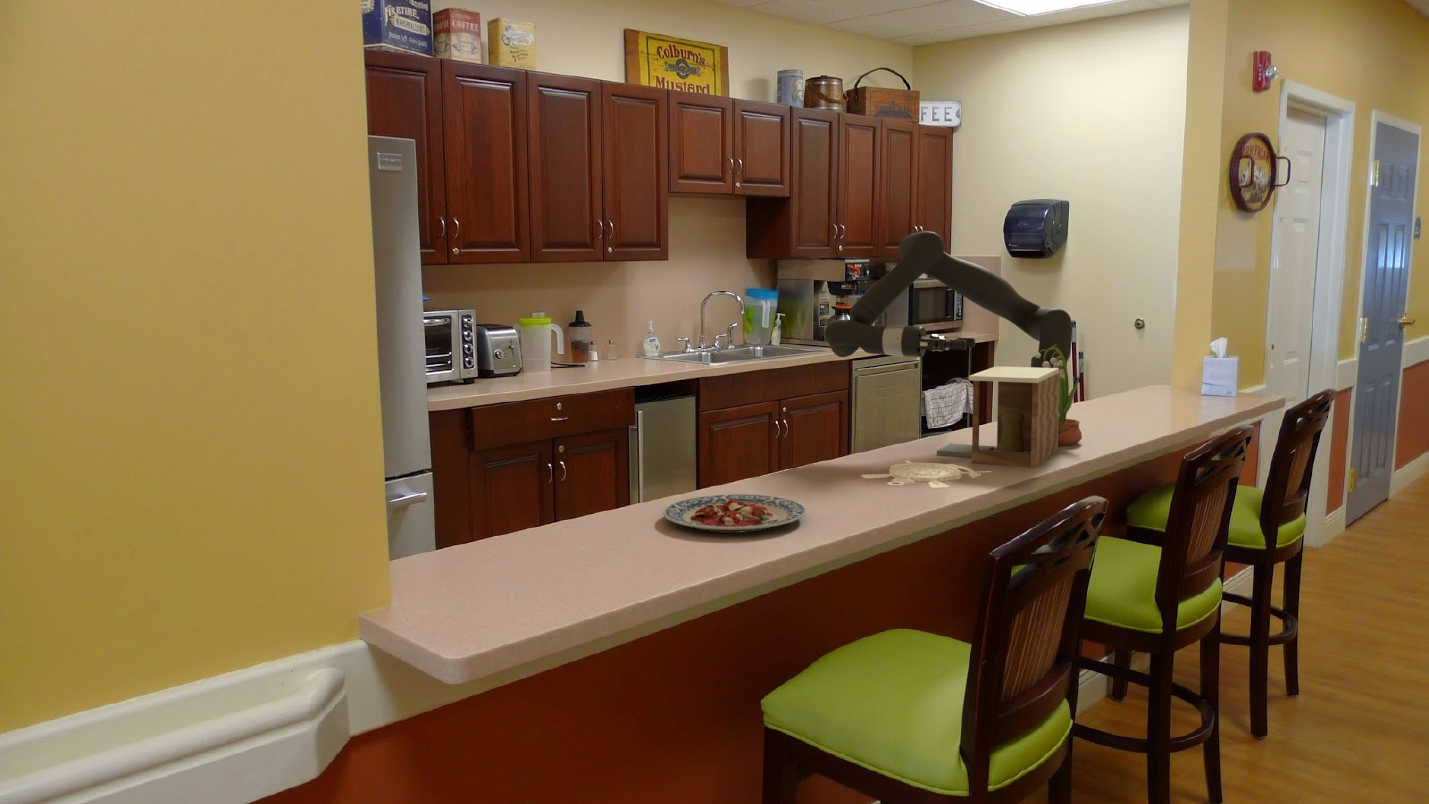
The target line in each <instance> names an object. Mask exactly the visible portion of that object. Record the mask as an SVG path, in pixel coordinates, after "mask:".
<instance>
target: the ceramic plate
mask: <svg viewBox="0 0 1429 804" xmlns="http://www.w3.org/2000/svg"><path fill="white" fill-rule="evenodd" d="M806 509H807V508H806V507H805V506H804V505H802V504H800V503H799V502H796V501H794V500H792V499H789V498H788V499H787V498H782V497H777V496H772V495H764V494H743V493H740V494H738V493H737V494H736V493H732V494H731V493H729V494H713V495H705V496H704V495H703V496H696V497H692V498H686V499H683V500H679V501H677V502H673V503H672V504H670V505H667V506H666V507H665V508H663V511H662V515H663V516H664V518H665V519H666V520H668V521H670V522H671V523H675V524H678V525H680V526H685V527H689V528H694V527H695V528H694V529H698V528H700V529H699V530H701V529H705V530H704V531H706V530H712V531H711V532H713V531H723V532H722V533H731V532H736V533H741V532H740V531H751V532H753V531H752V530H759V531H761V530H760V529H764V530H767V529H766V528H768V529H771V528H770V527H772V528H774V527H778V526H782V525H783V526H784V525H786V524H790V523H793V522H795V521H798V520H799V519H801V518H803V516H805V514H806Z"/></svg>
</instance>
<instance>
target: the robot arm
mask: <svg viewBox="0 0 1429 804" xmlns="http://www.w3.org/2000/svg"><path fill="white" fill-rule="evenodd" d="M944 244H945V243H944V241H943V239H942V237H941V236H940V235H939V234H937V232H934V231H929V230H924V231H923V230H922V231H918V232H913V233H911V234H908V235H906V236H905V237H904V238H902V240H901V241H900V243H899V245H898V255H899V258H900V261H899V262H898V263H897V264H896V265H895V266H894V267H893V268H892V269H891V270H890V271H889V272H887V273H886V274H885V275H884V276H882V277H881V278H880V279H879V280H877V281H876V282H875V283H873V284H872V285H871V286H870V287H869V288H868V289H867V290H866V291H865V292H864V293H863V294H862V295H861V296H860V297H859V298H858V299H857V300H856V302H855V303H853V305H852V306H851V308H850V310H849V319H835V320H833V321H831V322H829V323H828V324H827V325H826V327H824V331H823V332H824V333H823V334H824V339H825V340H826V342H827V343H828V346H829V347H830V349H831V351H832V352H833V354H834V355H835V356H836V357H839V358H847V357H850V356H852V355H853V354H854V353H855V352H857V351H858V350H859V349H862V351H864V352H865V353H867V354H871V355H888V356H893V357H909V358H910V357H913V358H922V357H924V355H925V354H926V351H927V350H928V351H929V352H935V351H937V352H943V351H944V350H945V351H949V350H959V351H960V350H961V351H963V350H966V348H974V347H975V346H976V339H975V338H974V337H961V336H958V335H951V334H940V333H932V334H929V336H927V330H926V328H925V327H924V326H922V325H921V326H919V325H918V326H917V325H890V326H887V325H884V326H883V325H874V324H875V323H876V321H878V319H879V318H880V317H881V316H882V315H883V314H884V313H885V312H886V310H887V309H888V308H889V307H890V306H891V305H892V304H893V303H894V302H895V301H896V300H897V299H898V298H899V296H901V294H902V293H904V291H906V289H908V288H909V287H910V286H911V285H912V284H913V283H914V282H915V281H916V280H918V279H919V278H920V277H921V276H922V275H923V274H925V275H927V276H929V277H931V278H932V279H933V278H934V279H936V280H937V281H939V282H941V283H942V284H944V285H945V286H947V288H950V289H951V290H953V291H954V292H955V293H957V294H960V295H961V296H962V297H964V298H966V299H967V300H969V301H971V302H972V303H974V304H975V305H977V306H979V307H980V308H982V309H985V310H986V311H989V312H991V313H992V314H994V315H996V316H998V317H1001V318H1003V319H1004V320H1007V321H1008V322H1010V323H1012V324H1014V326H1016V327H1017V328H1018V329H1020V330H1021V331H1023V332H1024V333H1026V334H1027V335H1028V336H1029V337H1031V338H1032V339H1033V340H1036V341H1037V342H1039V344H1038V350H1037V353H1040V354H1041V356H1040V359H1039V358H1036V357H1034V356H1035V355H1034V356H1032V357H1031V358H1030V359H1031V360H1030V367H1034V368H1044V367H1043V362H1044V354H1045V352H1046V351H1041V350H1047V349H1049V348H1052V346H1053V345H1056V346H1053V347H1055V348H1058V349H1059V350H1060V351H1061V353H1062V355H1063V357H1064V359H1065V362H1066V366H1067V367H1068V362H1069V359H1070V356H1071V350H1072V339H1073V321H1072V318H1071V316H1070V314H1069V313H1068V312H1067V311H1065V310H1064V309H1061V308H1057V307H1044V306H1041V305H1039V304H1036V303H1035V302H1032V301H1030V300H1029V299H1026V298H1025V297H1023V296H1022V295H1020V294H1019V292H1017V290H1016V289H1015V288H1014V287H1013V286H1012V285H1011V284H1010V283H1009V282H1008V281H1007V280H1006V279H1004V278H1003V277H1002V276H1001V275H999V274H997V273H995V272H993V271H992V270H990V269H988V268H986V267H984V266H981V265H979V264H977V263H973V262H970V261H969V260H964V259H961V258H958V257H955V256H952V255H951V254H949V253H947V252H946V251H945V245H944ZM1040 351H1041V352H1040ZM1054 352H1056V350H1049V351H1048V352H1047V354H1046V356H1045V361H1046V362H1049V364H1050V366H1051V367H1048V368H1053V367H1054V364H1052V365H1051V362H1050V360H1051V358H1052V355H1053V353H1054ZM1058 356H1060V355H1059V353H1058V352H1057V353H1055V354H1054V355H1053V358H1057V357H1058ZM1057 360H1058V358H1057ZM1058 361H1060V358H1059V360H1058ZM1061 361H1062V359H1061ZM1057 363H1058V362H1057ZM1060 367H1061V366H1059V369H1060ZM1063 371H1064V367H1062V368H1061V369H1060V371H1059V372H1060V374H1061V375H1062V373H1063ZM1063 376H1064V377H1065V375H1064V373H1063ZM1059 416H1060V414H1059Z"/></svg>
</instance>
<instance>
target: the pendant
mask: <svg viewBox="0 0 1429 804" xmlns="http://www.w3.org/2000/svg"><path fill="white" fill-rule="evenodd" d="M906 462H907V463H906ZM960 469H961V470H964V471H961V470H960ZM982 473H983V474H984V473H993V472H992V471H991V470H977V471H975V470H974V469H972V468H970V467H966V466H963V465H962V466H961V465H957V464H955V463H938V462H936V463H935V462H911V461H910V460H906V461H905V463H898V464H896V463H895V464H893V465H891V466H889V472H888V473H880V474H879V473H878V474H876V473H875V474H873V473H871V474H870V473H869V474H860V477H862V478H863V479H866V480H867V479H880V478H881V479H882V478H885V479H886V478H888V477H889V478H890V477H892V479H891V480H890V481H889V482H887V483H886V484H887V486H888V485H890V486H894V485H899V486H903V485H904V486H905V484H910V485H911V484H912V485H913V484H915V483H916V482H927V484H928V485H929V487H930V488H931V489H942V488H943V489H946V488H949V489H950V485H948V484H946V483H944V482H945V481H946V482H947V481H953V480H960V479H962V474H966V475H968V476H969V477H971V478H972V479H975V478H978V477H980V476H981V475H982Z"/></svg>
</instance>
